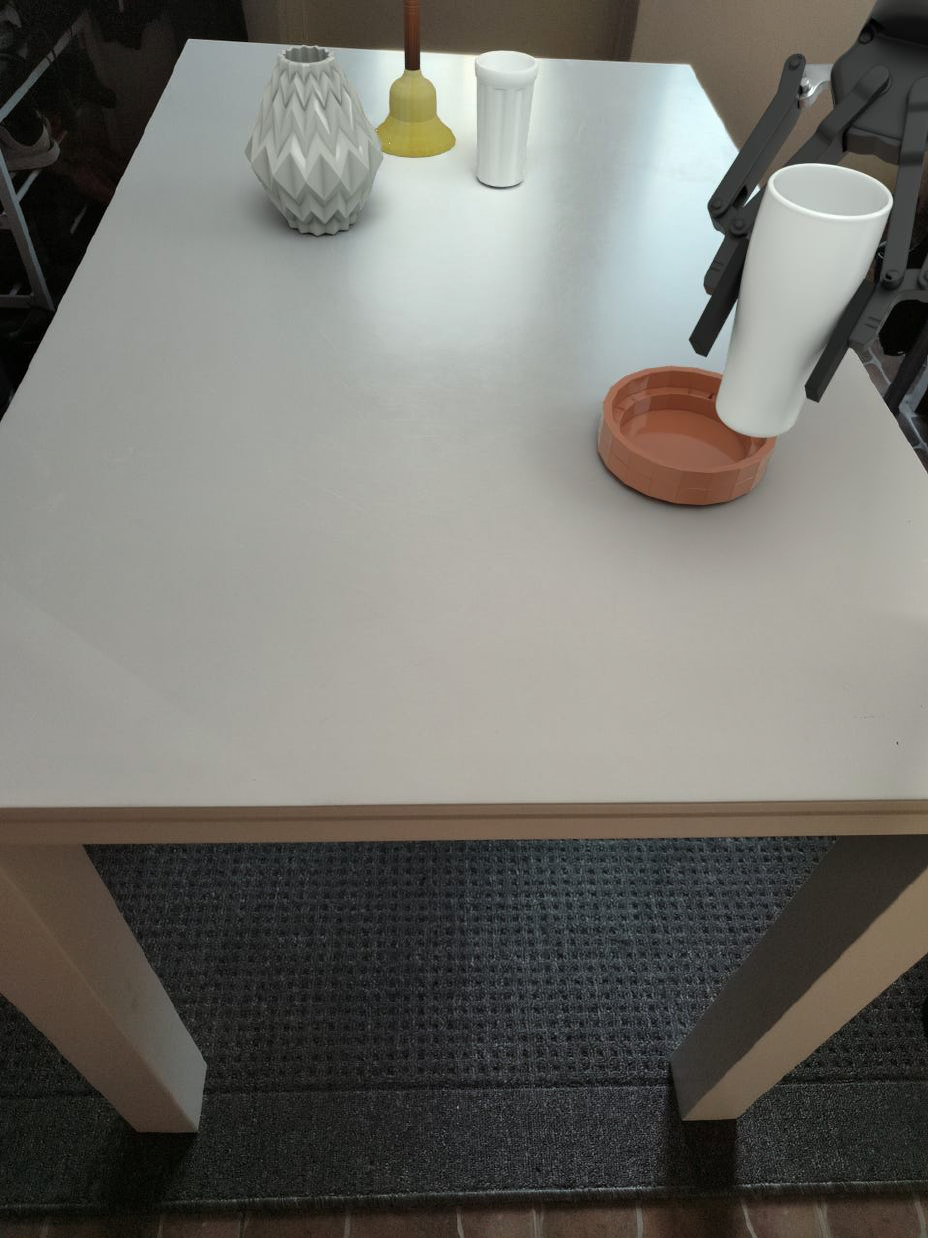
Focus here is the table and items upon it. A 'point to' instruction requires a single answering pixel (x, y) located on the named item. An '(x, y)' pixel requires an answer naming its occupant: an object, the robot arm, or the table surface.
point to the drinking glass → (796, 289)
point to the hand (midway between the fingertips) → (753, 370)
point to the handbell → (413, 102)
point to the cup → (503, 114)
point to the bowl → (677, 438)
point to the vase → (313, 142)
